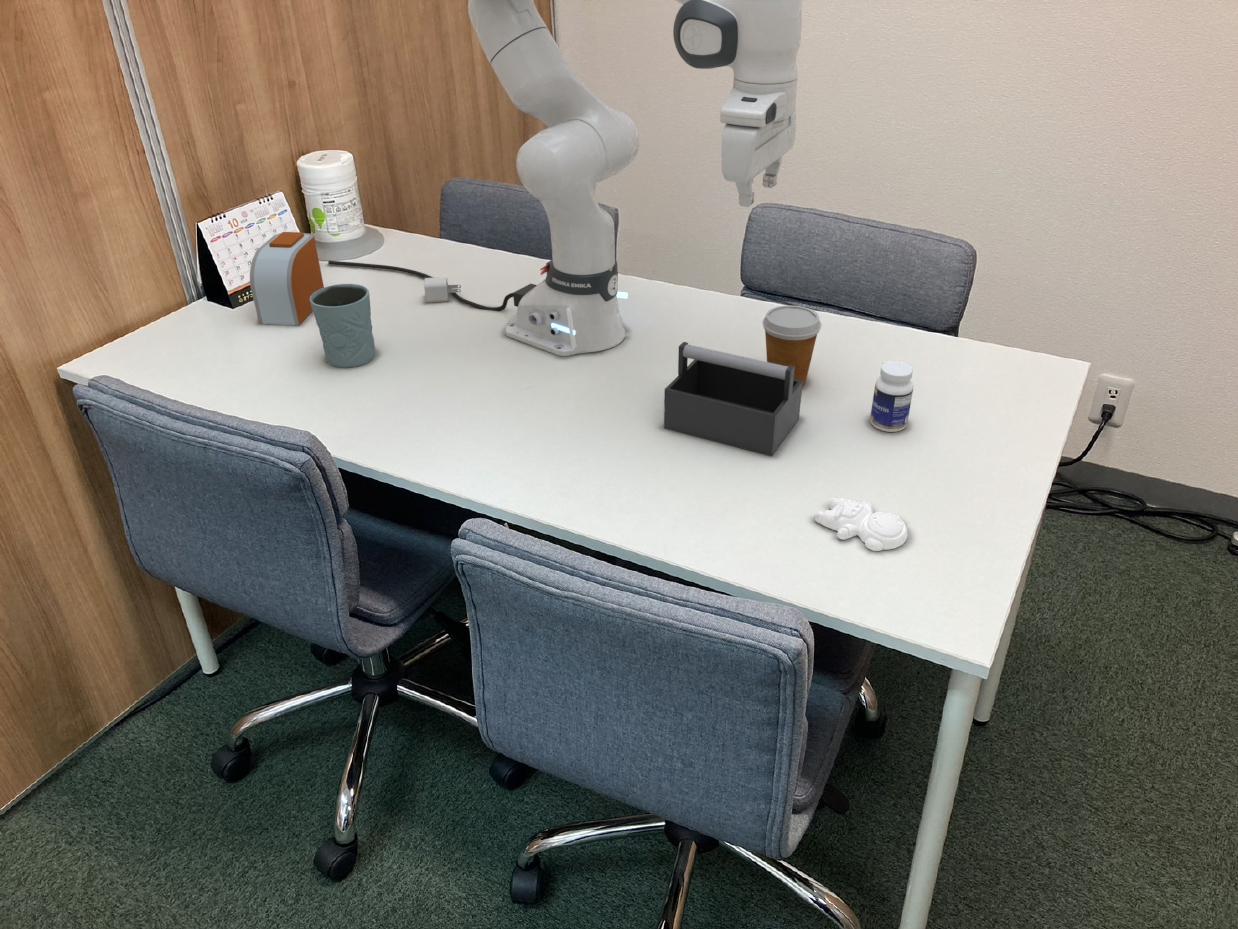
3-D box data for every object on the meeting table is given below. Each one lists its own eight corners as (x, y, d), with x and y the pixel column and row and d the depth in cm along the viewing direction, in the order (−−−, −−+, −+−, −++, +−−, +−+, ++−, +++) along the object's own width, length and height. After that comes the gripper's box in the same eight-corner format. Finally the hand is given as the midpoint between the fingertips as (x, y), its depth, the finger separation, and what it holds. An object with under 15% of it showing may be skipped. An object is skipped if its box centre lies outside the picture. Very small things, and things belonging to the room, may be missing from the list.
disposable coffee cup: (814, 397, 163) (821, 331, 156) (756, 392, 164) (760, 326, 158) (816, 370, 170) (823, 306, 164) (760, 365, 172) (765, 302, 165)
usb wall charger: (427, 295, 199) (425, 276, 197) (461, 293, 200) (459, 274, 198) (426, 303, 196) (423, 284, 194) (461, 301, 197) (459, 282, 194)
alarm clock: (289, 292, 202) (275, 228, 194) (329, 293, 201) (316, 229, 193) (257, 323, 190) (241, 256, 182) (299, 325, 189) (285, 258, 181)
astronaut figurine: (840, 496, 139) (842, 479, 137) (918, 530, 132) (921, 512, 131) (806, 525, 134) (808, 507, 132) (885, 561, 127) (888, 543, 125)
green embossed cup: (338, 375, 172) (326, 311, 165) (311, 355, 178) (298, 293, 171) (390, 356, 177) (379, 294, 170) (362, 338, 184) (351, 277, 177)
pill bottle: (862, 419, 157) (870, 363, 151) (892, 411, 158) (901, 355, 153) (884, 436, 152) (892, 379, 147) (914, 428, 154) (924, 371, 149)
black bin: (663, 428, 155) (664, 360, 149) (695, 394, 164) (697, 328, 157) (772, 456, 148) (778, 386, 141) (799, 419, 157) (806, 351, 150)
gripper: (769, 81, 148) (763, 173, 155) (714, 113, 133) (711, 213, 141) (810, 85, 145) (801, 178, 153) (759, 118, 130) (752, 219, 138)
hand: (758, 195), depth 147 cm, fingers open, 8 cm apart
